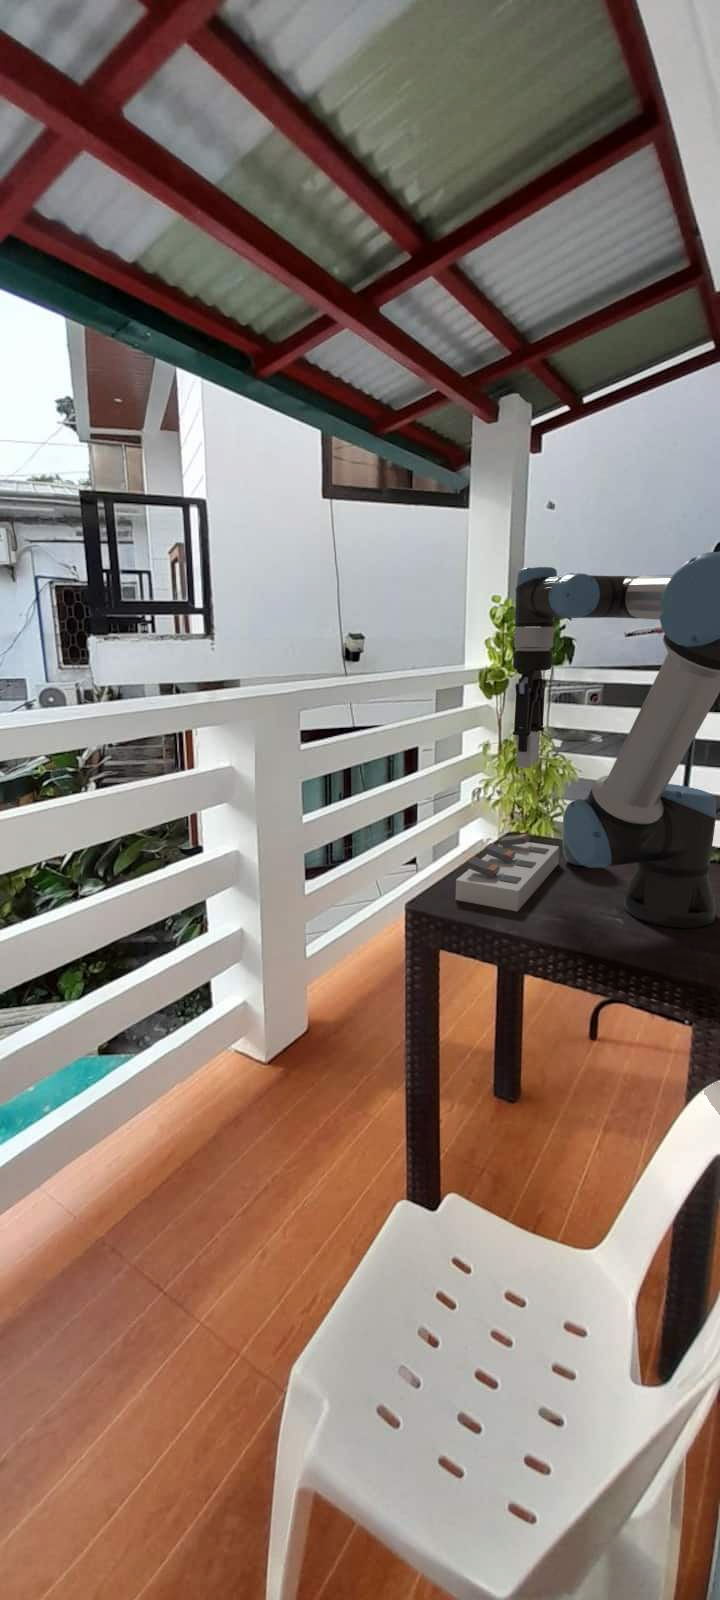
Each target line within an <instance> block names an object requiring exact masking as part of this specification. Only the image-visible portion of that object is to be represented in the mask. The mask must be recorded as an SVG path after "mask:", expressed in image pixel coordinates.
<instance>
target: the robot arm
mask: <svg viewBox="0 0 720 1600" xmlns="http://www.w3.org/2000/svg"><path fill="white" fill-rule="evenodd" d="M557 574H558V573H557V569H556V568H554V567H551V566H533V567H523V568H521V569H520V570H519V571H518V573H517V581H516V586H515V609H514V610H515V614H514V632H512V634H511V636H512V638H514V642H513V643H514V645H513V647H514V648H515V649H516V650H514V652H513V659H512V668H513V670H515V671H521V677H520V679H519V681H518V682H516V683H515V686H514V687H515V705H514V707H515V708H514V726H513V731H512V735H513V736H517V737H516V755H515V757H516V759H515V761H516V762H515V768H521V769H522V768H525V769H530V768H531V763H532V764H538V763H539V757H540V756H539V753H540V752H539V751H540V737H541V735H540V733H541V732H544V731H545V727H544V714H545V712H544V711H545V695H546V694H545V692H546V691H545V690H546V684H547V680H546V679H544V678H543V675H542V673H543V671H549V670H551V669H552V668H553V666H552V665H553V652H552V650H551V649H552V648H553V647H554V636H555V635H554V634H555V633H554V632H555V619H583V618H584V619H586V618H587V619H588V618H589V619H593V618H594V619H595V618H596V619H598V618H599V619H600V618H601V619H602V618H606V619H607V618H608V619H609V618H612V619H615V618H616V619H634V620H635V619H636V620H637V619H644V620H657V621H660V626H661V629H662V631H663V633H664V634H663V637H662V643H663V644H664V647H665V648H666V651H667V652H668V653H667V654H666V655H665V656H666V657H664V660H663V662H662V665H661V667H660V669H659V670H658V673H657V675H656V677H655V679H654V681H653V682H652V685H651V687H650V690H649V692H648V694H647V695H646V698H645V699H644V701H643V703H642V706H641V708H640V709H639V712H638V714H637V716H636V718H635V719H634V722H633V724H632V726H631V728H630V730H629V732H628V735H627V737H626V739H625V741H624V742H623V745H622V747H621V750H620V751H619V753H618V755H617V757H616V760H615V761H614V762H613V765H612V768H611V770H610V771H609V774H608V775H604V776H601V777H598V779H596V780H595V782H594V783H593V785H592V787H591V790H590V792H589V794H588V796H587V797H586V798H585V799H582V798H579V799H576V800H573V801H571V802H569V803H568V805H567V806H566V808H565V810H564V813H563V818H562V819H563V821H562V823H563V824H562V825H563V826H562V827H563V828H564V834H565V839H566V842H567V845H568V847H569V850H570V851H571V853H572V855H573V856H574V858H575V859H576V860H577V861H578V862H579V863H581V864H582V865H584V866H583V867H586V868H591V869H592V868H594V869H595V868H603V869H608V868H609V867H617V866H624V865H631V864H637V868H636V870H635V872H634V873H633V876H632V879H630V882H629V884H628V887H627V888H626V891H625V893H624V900H623V907H624V909H625V911H626V912H627V913H629V914H630V915H631V916H632V917H635V918H637V919H639V920H642V921H644V922H647V923H650V924H654V925H658V926H663V927H671V928H685V929H688V928H692V929H693V928H701V927H704V926H708V925H711V924H713V922H714V921H715V917H716V916H715V915H716V911H717V906H716V901H715V897H714V894H713V889H712V885H711V881H710V877H709V875H710V874H709V873H710V864H711V858H712V851H713V843H714V842H713V841H714V835H715V827H716V820H717V818H718V817H717V815H716V813H717V812H716V811H717V800H716V797H715V796H714V795H713V794H712V793H710V792H707V791H705V790H703V789H698V788H694V787H689V786H685V785H680V784H678V785H677V784H673V783H670V781H671V780H672V778H673V776H674V775H675V772H676V771H677V769H678V767H679V765H680V763H681V762H682V761H683V758H684V757H685V755H686V752H687V751H688V749H689V747H690V746H691V744H692V742H693V741H694V738H695V737H696V735H697V733H698V731H699V730H700V728H701V726H702V725H703V723H704V721H705V719H706V718H707V717H708V716H707V715H708V713H709V712H710V710H711V708H712V706H713V705H714V703H715V702H716V699H717V698H718V696H719V695H720V551H711V552H705V553H701V554H699V555H697V556H695V557H691V558H690V559H689V560H687V561H685V562H684V563H683V564H682V565H681V566H680V567H679V568H678V569H676V571H675V572H674V573H673V574H656V575H655V574H654V575H653V574H650V575H649V574H647V575H591V574H590V575H589V574H586V573H572V572H571V573H566V574H564V575H557ZM563 828H562V829H563Z"/></svg>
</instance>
